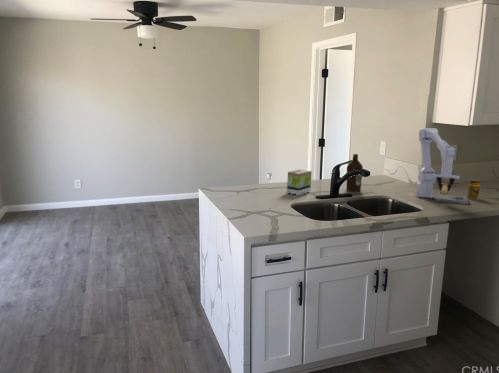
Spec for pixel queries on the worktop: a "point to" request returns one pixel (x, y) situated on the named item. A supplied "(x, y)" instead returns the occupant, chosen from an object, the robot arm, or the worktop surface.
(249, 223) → the worktop surface
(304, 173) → the tea box
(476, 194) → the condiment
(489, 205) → the worktop surface
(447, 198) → the jig
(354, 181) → the olive oil
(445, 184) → the bushing
